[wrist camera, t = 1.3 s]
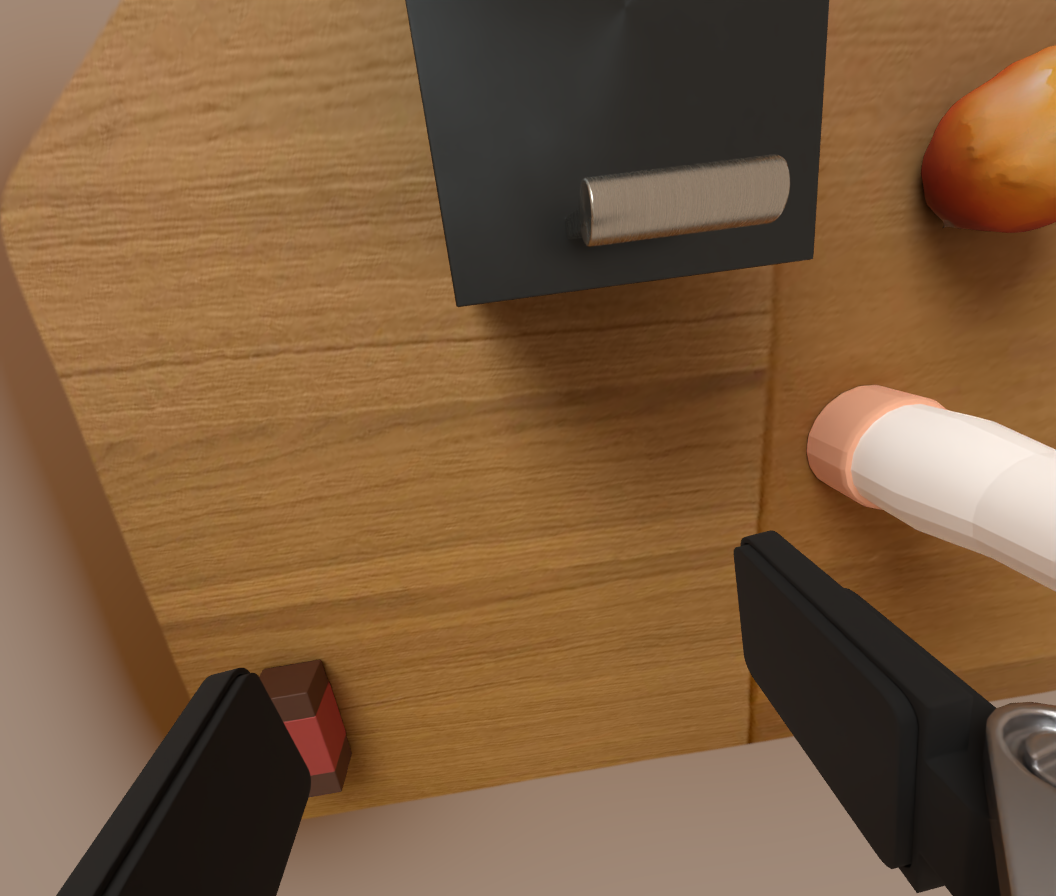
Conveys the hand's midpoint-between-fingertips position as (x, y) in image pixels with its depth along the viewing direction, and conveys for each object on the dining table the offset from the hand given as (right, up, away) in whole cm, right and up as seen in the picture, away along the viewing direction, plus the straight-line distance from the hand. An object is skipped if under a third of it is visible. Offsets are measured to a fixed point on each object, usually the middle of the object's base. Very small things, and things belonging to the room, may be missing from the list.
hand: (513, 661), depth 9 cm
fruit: (+25, +20, +19) cm, 37 cm away
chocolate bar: (-16, -15, +26) cm, 34 cm away
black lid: (+3, +17, +6) cm, 18 cm away
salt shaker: (+22, +5, +23) cm, 33 cm away
